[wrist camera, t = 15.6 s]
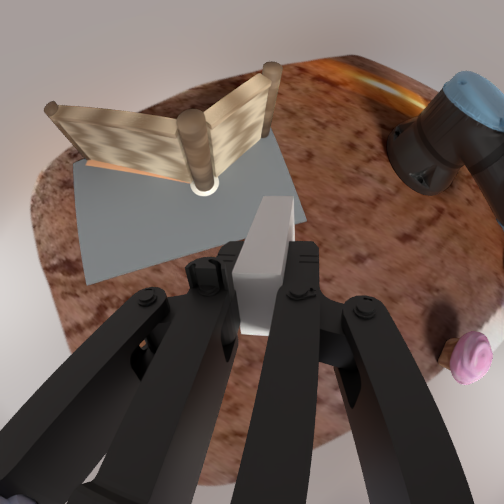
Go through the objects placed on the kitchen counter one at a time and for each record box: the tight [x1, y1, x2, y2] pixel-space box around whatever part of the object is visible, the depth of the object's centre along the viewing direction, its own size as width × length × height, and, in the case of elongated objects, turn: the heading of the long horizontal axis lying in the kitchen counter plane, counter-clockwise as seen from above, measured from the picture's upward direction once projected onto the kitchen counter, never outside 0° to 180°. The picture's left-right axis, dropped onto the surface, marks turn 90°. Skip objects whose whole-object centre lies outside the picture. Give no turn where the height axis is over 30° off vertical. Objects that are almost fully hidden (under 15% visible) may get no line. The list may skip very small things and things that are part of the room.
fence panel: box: [44, 101, 193, 183], centre depth 36 cm, size 21×2×15 cm, turn 74°
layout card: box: [73, 127, 307, 285], centre depth 43 cm, size 35×22×1 cm, turn 107°
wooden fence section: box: [177, 62, 283, 192], centre depth 36 cm, size 16×3×16 cm, turn 137°
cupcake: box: [438, 331, 493, 385], centre depth 36 cm, size 9×9×10 cm
